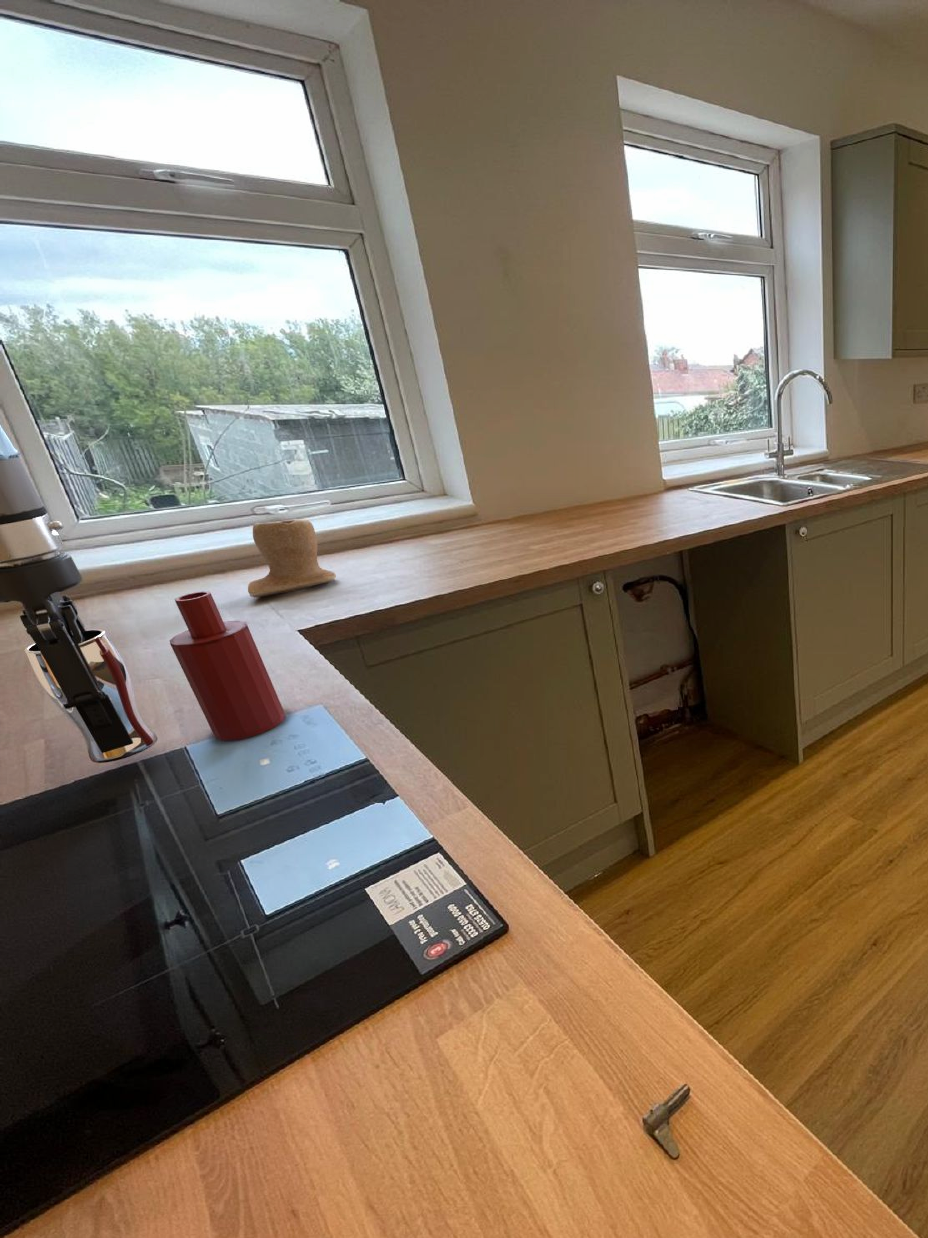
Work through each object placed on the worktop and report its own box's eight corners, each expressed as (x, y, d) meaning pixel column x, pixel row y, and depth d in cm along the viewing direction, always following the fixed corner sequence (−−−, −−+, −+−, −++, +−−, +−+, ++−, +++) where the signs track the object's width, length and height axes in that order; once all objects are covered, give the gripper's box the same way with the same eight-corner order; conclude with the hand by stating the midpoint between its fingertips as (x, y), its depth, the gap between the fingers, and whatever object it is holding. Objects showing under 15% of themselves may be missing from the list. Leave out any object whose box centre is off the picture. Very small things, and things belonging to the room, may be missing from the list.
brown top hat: (333, 573, 156) (310, 509, 150) (340, 585, 147) (316, 518, 141) (250, 590, 147) (222, 523, 141) (253, 604, 138) (223, 533, 133)
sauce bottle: (217, 747, 87) (152, 612, 80) (213, 727, 92) (151, 597, 85) (289, 724, 92) (234, 594, 84) (281, 705, 97) (228, 581, 89)
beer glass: (109, 741, 86) (50, 634, 81) (174, 729, 88) (121, 624, 82) (71, 770, 80) (4, 657, 74) (142, 758, 82) (82, 646, 76)
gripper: (61, 566, 70) (160, 753, 79) (73, 536, 83) (157, 700, 92) (-49, 586, 65) (70, 782, 75) (-19, 551, 78) (79, 722, 87)
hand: (118, 736), depth 83 cm, fingers closed on beer glass, 6 cm apart
